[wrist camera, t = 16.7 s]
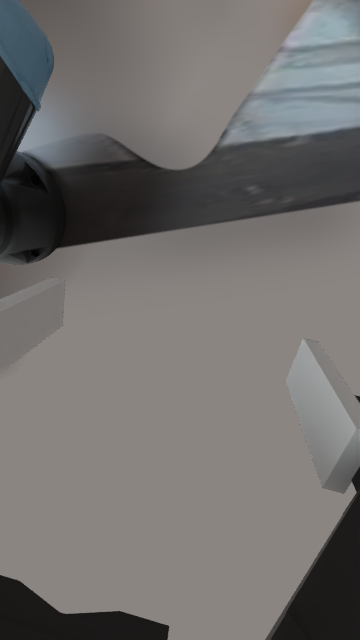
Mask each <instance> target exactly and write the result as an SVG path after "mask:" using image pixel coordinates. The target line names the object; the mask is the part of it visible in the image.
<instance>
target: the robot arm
mask: <svg viewBox="0 0 360 640" xmlns="http://www.w3.org/2000/svg"><path fill="white" fill-rule="evenodd" d="M53 67H54V56H53V51H52V47H51V45H50V42H49V40H48V38H47V36H46V35H45V33H44V32H43V30H42V29H41V27H40V26H39V25H38V23H37V22H36V21H35V19H34V18H33V17H32V16H31V14H30V13H29V12H28V10H27V9H26V8H25V7H24V6H23V4H22V3H21V2H20V1H19V0H0V263H6V264H11V265H24V264H29V263H33V262H36V261H39V260H42V259H44V258H45V257H47V256H49V255H50V254H51V253H52V252H53V251H54V250H55V249H56V248H57V246H58V245H59V243H60V241H61V238H62V236H63V232H64V227H65V210H64V205H63V201H62V197H61V195H60V192H59V190H58V188H57V186H56V184H55V182H54V181H53V179H52V178H51V176H50V175H49V174H48V172H47V171H46V170H45V169H44V168H43V167H42V166H41V165H40V164H39V163H38V162H36V161H35V160H34V159H32V158H31V157H29V156H27V155H25V154H23V153H20V152H17V149H18V147H19V145H20V143H21V140H22V139H23V137H24V135H25V133H26V131H27V129H28V127H29V125H30V123H31V121H32V119H33V117H34V115H35V113H36V111H39V110H40V107H41V105H40V101H41V98H42V95H43V93H44V90H45V88H46V85H47V83H48V81H49V78H50V76H51V74H52V71H53ZM64 291H65V281H64V280H60V279H56V278H52V277H51V278H49V279H47V280H45V281H42V282H40V283H38V284H35V285H33V286H30V287H28V288H26V289H23V290H21V291H19V292H16V293H14V294H12V295H10V296H7V297H5V298H3V299H0V373H1V372H2V371H4V370H5V369H6V368H7V367H9V366H10V365H11V364H13V363H14V362H15V361H17V360H18V359H19V358H21V357H22V356H23V355H25V354H26V353H27V352H29V351H30V350H31V349H33V348H34V347H35V346H37V345H38V344H39V343H41V342H42V341H43V340H44V339H46V338H47V337H48V336H50V335H51V334H52V333H54V332H55V331H56V330H58V329H59V328H60V327H62V326H63V313H64ZM285 382H286V384H287V387H288V390H289V393H290V396H291V399H292V402H293V405H294V408H295V410H296V413H297V416H298V419H299V422H300V425H301V428H302V431H303V433H304V437H305V439H306V442H307V445H308V448H309V451H310V454H311V457H312V460H313V463H314V466H315V468H316V471H317V474H318V477H319V480H320V483H321V486H322V488H325V489H329V490H332V491H336V492H340V493H343V494H344V493H345V491H346V490H347V488H348V487H349V485H350V483H351V482H352V483H353V485H354V487H355V489H356V491H357V493H356V495H355V496H354V498H353V499H352V501H351V502H350V504H349V505H348V507H347V508H346V510H345V512H344V513H343V515H342V517H341V519H340V520H339V522H338V523H337V525H336V527H335V528H334V530H333V531H332V533H331V535H330V536H329V538H328V539H327V541H326V543H325V544H324V546H323V548H322V549H321V551H320V552H319V554H318V556H317V557H316V559H315V560H314V562H313V564H312V565H311V567H310V569H309V570H308V572H307V573H306V575H305V577H304V578H303V580H302V581H301V583H300V585H299V586H298V588H297V590H296V591H295V593H294V594H293V596H292V597H291V599H290V601H289V602H288V604H287V606H286V607H285V609H284V610H283V612H282V614H281V615H280V617H279V618H278V620H277V622H276V623H275V625H274V626H273V628H272V630H271V631H270V633H269V635H268V636H267V638H266V640H360V397H359V396H356V395H354V394H353V393H352V391H351V390H350V388H349V387H348V386H347V384H346V382H345V381H344V380H343V378H342V377H341V375H340V374H339V372H338V371H337V369H336V368H335V366H334V365H333V363H332V362H331V360H330V359H329V357H328V356H327V354H326V353H325V351H324V350H323V349H322V347H321V346H320V344H319V343H318V341H313V340H309V339H305V338H303V340H302V342H301V345H300V347H299V349H298V352H297V354H296V357H295V359H294V361H293V364H292V366H291V369H290V371H289V373H288V376H287V378H286V381H285ZM168 631H169V626H168V625H164V624H160V623H157V622H154V621H151V620H148V619H144V618H141V617H138V616H134V615H131V614H127V613H124V612H121V611H113V612H96V613H78V614H63V613H60V612H58V611H57V610H56V609H55V608H53V607H52V606H51V605H50V604H48V603H47V602H46V601H44V600H43V599H42V598H41V597H39V596H38V595H37V594H36V593H34V592H33V591H32V590H30V589H29V588H28V587H27V586H25V585H24V584H23V583H21V582H20V581H18V580H14V579H11V578H8V577H4V576H1V575H0V640H167V639H168Z"/></svg>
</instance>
